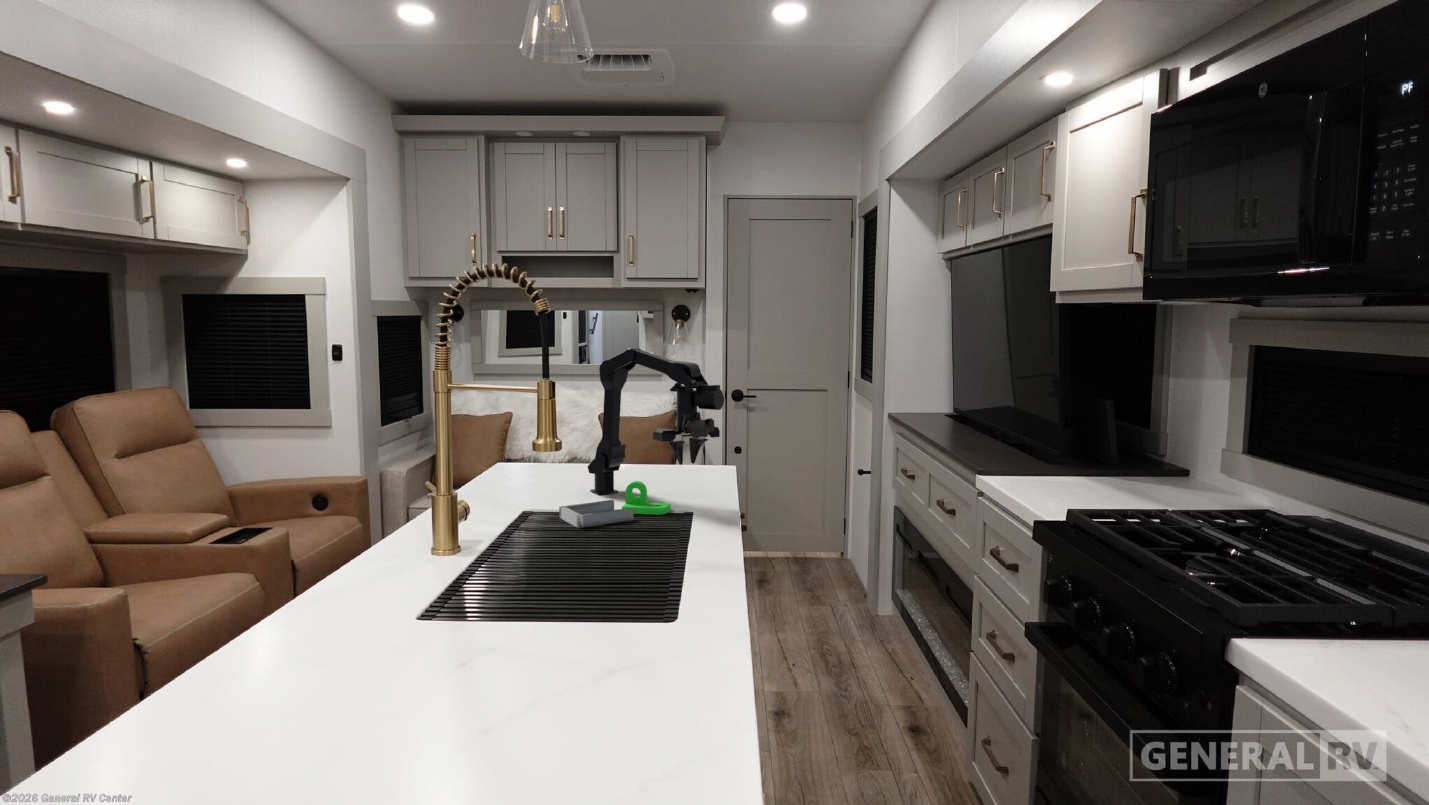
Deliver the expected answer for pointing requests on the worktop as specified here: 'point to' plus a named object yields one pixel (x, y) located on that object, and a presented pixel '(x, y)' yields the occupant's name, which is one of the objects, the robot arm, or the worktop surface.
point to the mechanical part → (643, 501)
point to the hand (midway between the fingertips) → (686, 464)
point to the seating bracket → (594, 514)
